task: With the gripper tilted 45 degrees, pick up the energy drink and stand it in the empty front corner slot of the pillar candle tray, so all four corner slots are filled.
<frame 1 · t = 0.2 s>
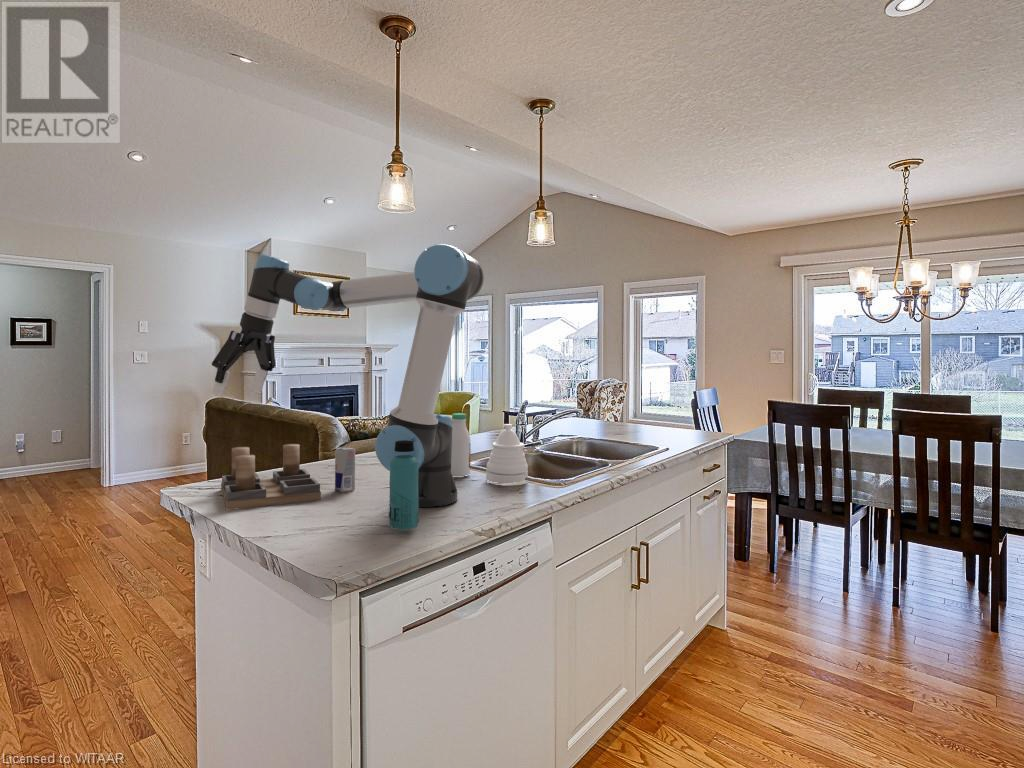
hand: (237, 393, 143), 27 cm above the countertop, tool tilted 15°, fingers open, 13 cm apart
milk bottle: (458, 476, 177), on the countertop
energy drink: (344, 491, 154), on the countertop
pillar candle tray: (269, 494, 148), on the countertop
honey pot: (506, 482, 170), on the countertop
beverage bottle: (403, 532, 119), on the countertop
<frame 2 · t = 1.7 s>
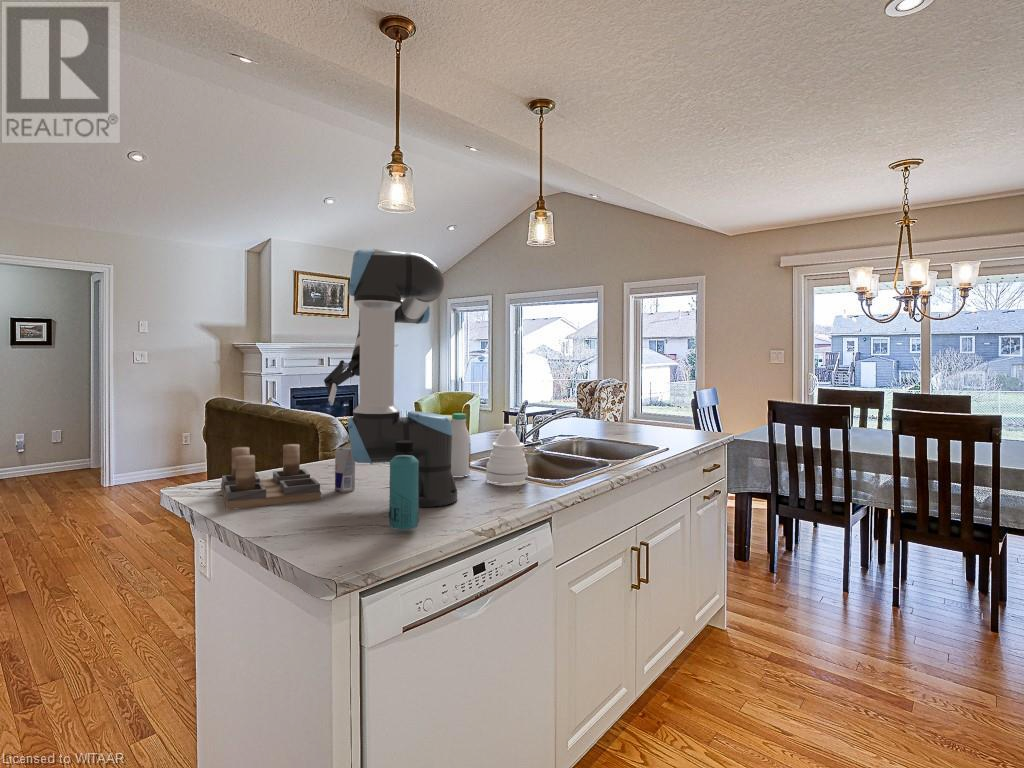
hand: (353, 403, 163), 24 cm above the countertop, tool tilted 45°, fingers open, 13 cm apart
nothing on the countertop moved.
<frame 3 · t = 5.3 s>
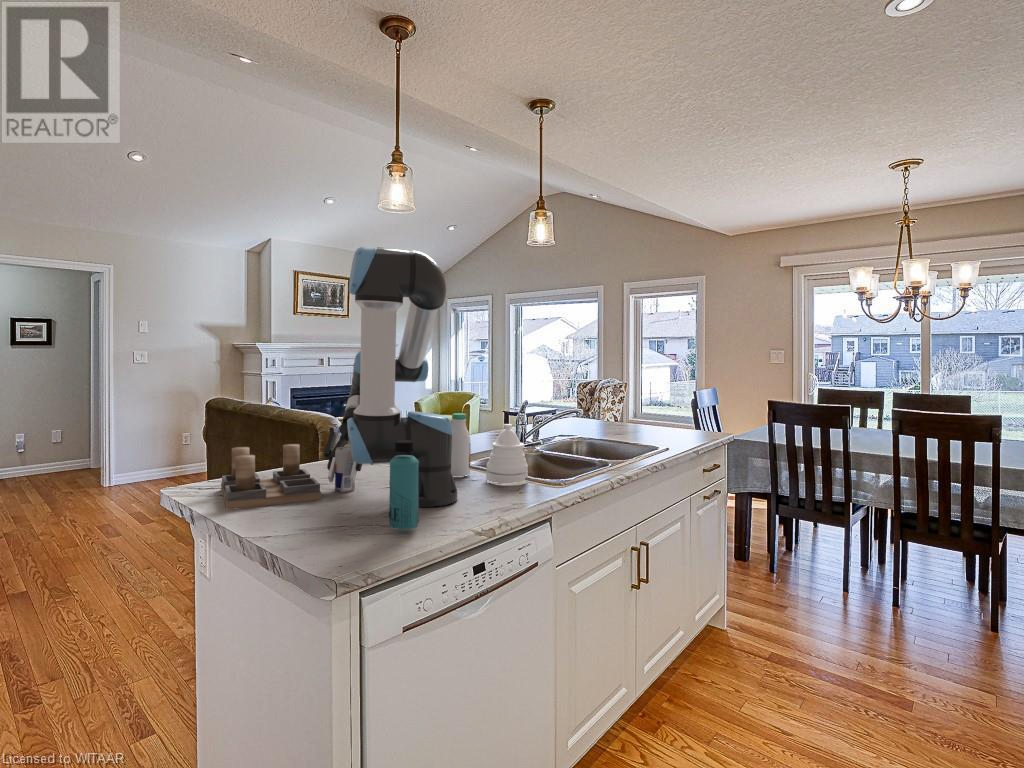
hand: (341, 479, 150), 4 cm above the countertop, tool tilted 45°, fingers closed on energy drink, 5 cm apart
energy drink: (344, 491, 154), on the countertop, touching gripper
everything else where it was.
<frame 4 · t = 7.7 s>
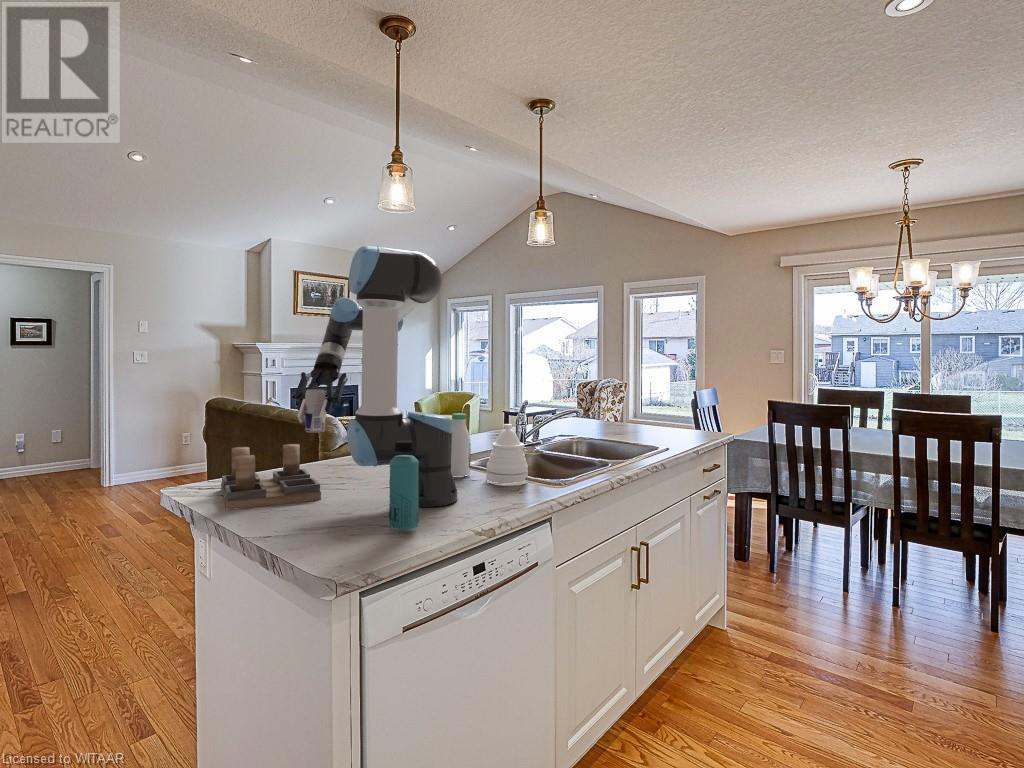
hand: (310, 419, 153), 20 cm above the countertop, tool tilted 45°, fingers closed on energy drink, 5 cm apart
energy drink: (315, 432, 157), point 16 cm above the countertop, touching gripper
everything else where it was.
when the fingers open (7 cm above the countertop, at t = 10.4 s): energy drink drops 1 cm, resting on pillar candle tray.
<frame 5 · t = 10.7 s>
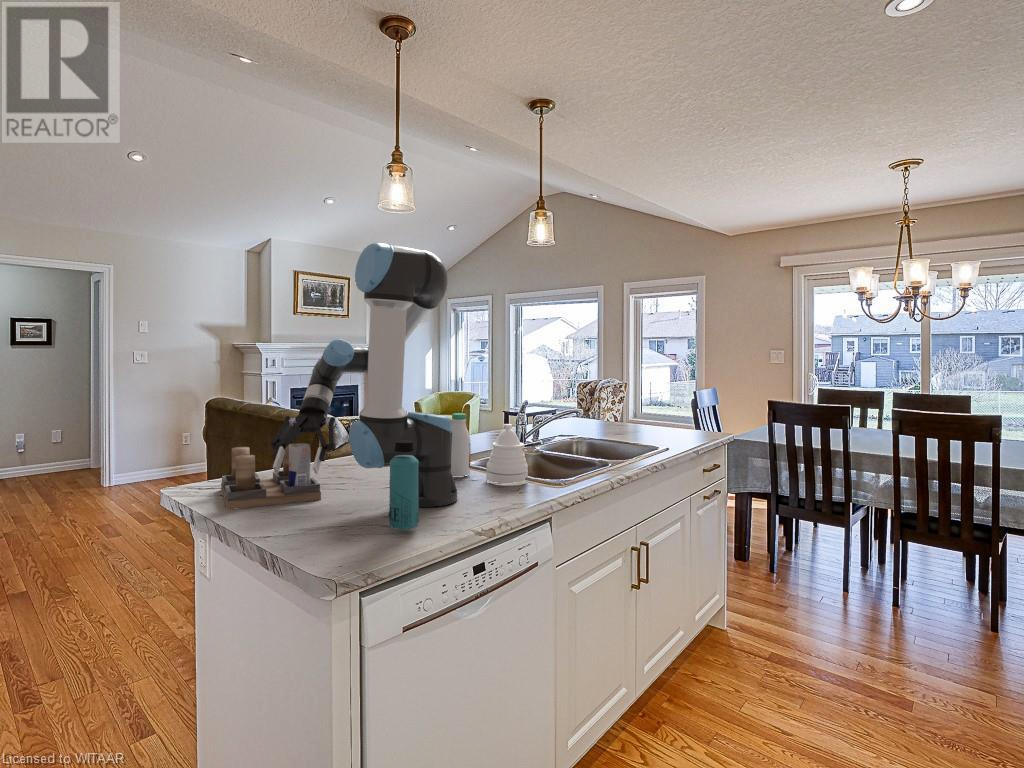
hand: (295, 470, 142), 8 cm above the countertop, tool tilted 45°, fingers open, 9 cm apart
energy drink: (299, 490, 146), point 2 cm above the countertop, touching pillar candle tray
everything else where it was.
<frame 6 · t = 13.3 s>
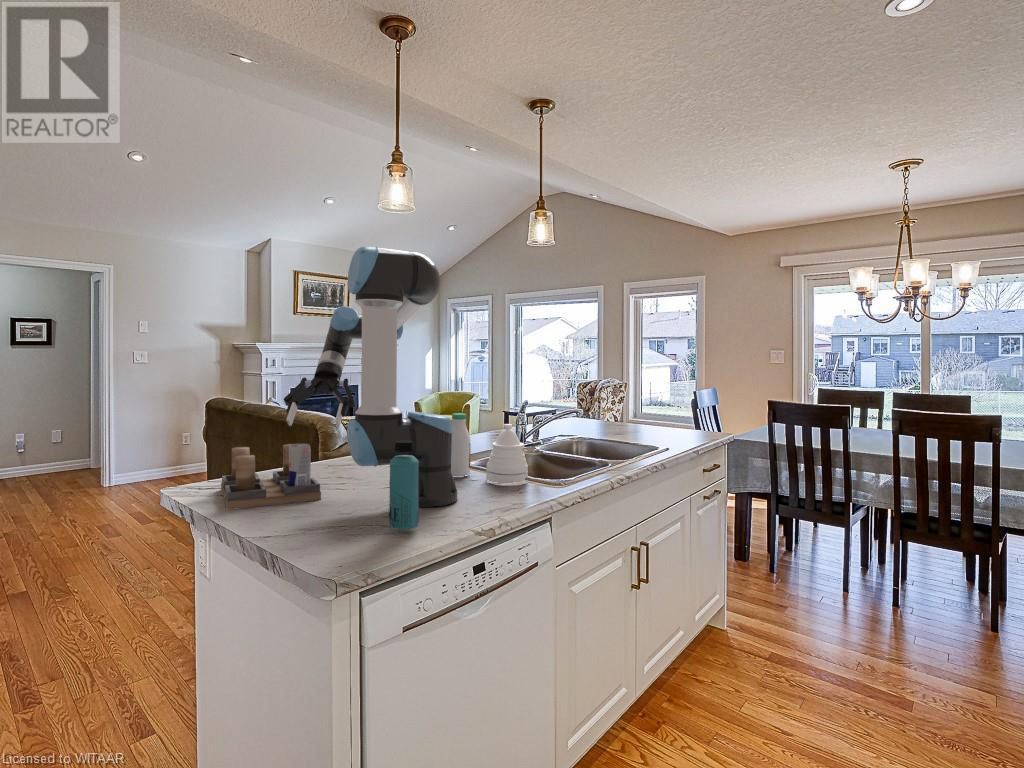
hand: (313, 423, 155), 18 cm above the countertop, tool tilted 45°, fingers open, 13 cm apart
nothing on the countertop moved.
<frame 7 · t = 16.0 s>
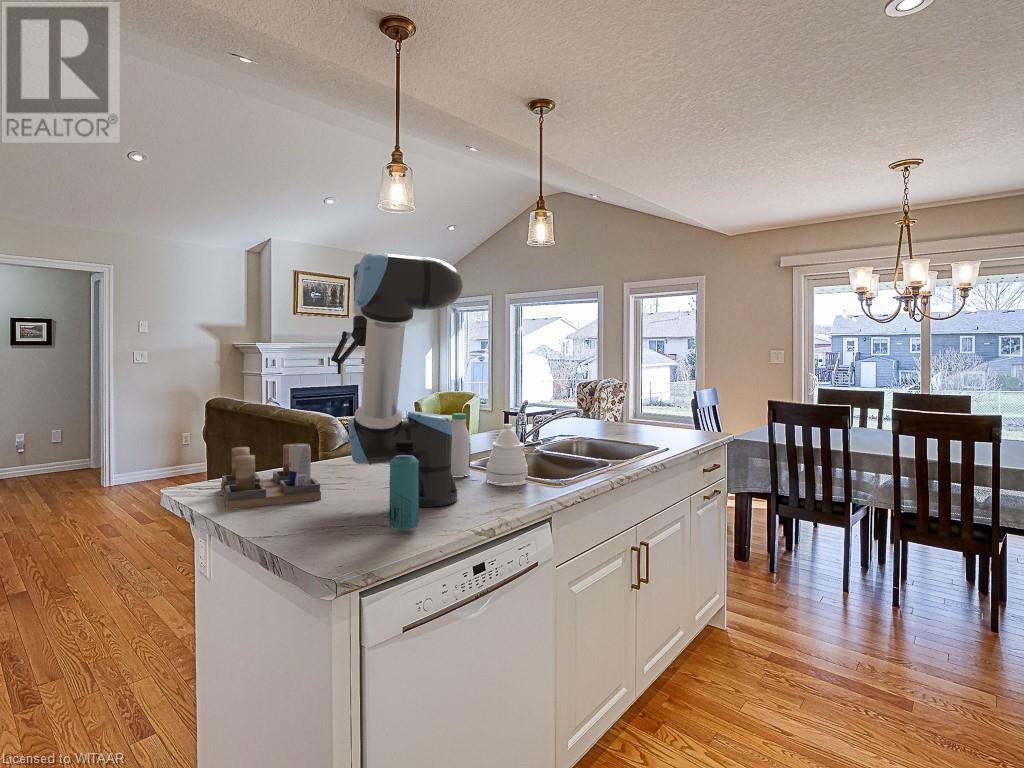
hand: (365, 385, 168), 29 cm above the countertop, tool pointing down, fingers open, 13 cm apart
nothing on the countertop moved.
at the end: energy drink 0.1 cm from the target spot on the pillar candle tray, point 1.8 cm above the pillar candle tray's base; energy drink tilted 0°; the gripper is holding nothing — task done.
